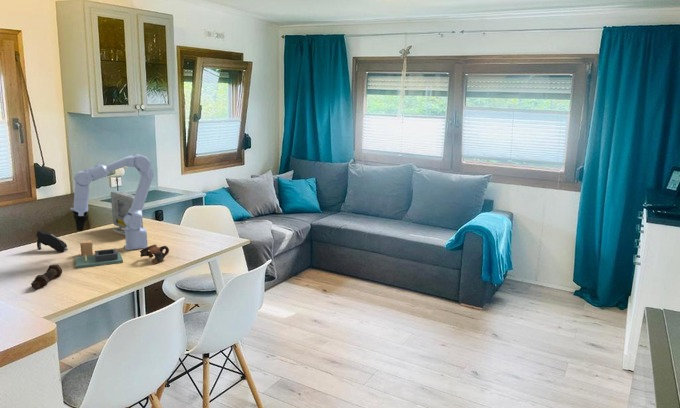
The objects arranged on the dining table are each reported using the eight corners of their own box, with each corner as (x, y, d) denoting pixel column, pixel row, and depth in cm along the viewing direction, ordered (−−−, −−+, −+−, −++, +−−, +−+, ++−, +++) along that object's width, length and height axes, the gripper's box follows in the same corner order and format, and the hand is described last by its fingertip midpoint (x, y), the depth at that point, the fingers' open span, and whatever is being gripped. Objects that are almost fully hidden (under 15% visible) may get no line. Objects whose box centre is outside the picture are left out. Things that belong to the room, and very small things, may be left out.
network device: (147, 234, 262) (145, 196, 258) (131, 237, 255) (128, 199, 251) (124, 225, 278) (121, 189, 274) (108, 228, 272) (105, 192, 268)
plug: (92, 252, 231) (91, 240, 230) (92, 255, 227) (91, 242, 226) (81, 254, 229) (80, 241, 228) (81, 256, 225) (80, 243, 224)
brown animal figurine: (146, 267, 214) (138, 249, 215) (144, 270, 223) (137, 253, 223) (173, 255, 220) (166, 238, 221) (171, 259, 229) (163, 242, 229)
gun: (59, 263, 232) (66, 246, 229) (30, 245, 233) (37, 228, 230) (64, 261, 235) (71, 244, 232) (35, 244, 236) (42, 226, 233)
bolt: (34, 295, 187) (54, 279, 201) (45, 288, 186) (65, 273, 201) (24, 282, 185) (45, 267, 200) (35, 276, 185) (56, 261, 200)
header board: (120, 254, 229) (119, 246, 229) (122, 262, 218) (122, 254, 217) (75, 259, 221) (74, 251, 220) (76, 268, 210) (75, 260, 209)
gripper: (70, 195, 227) (69, 225, 229) (71, 201, 215) (69, 232, 217) (88, 196, 231) (86, 225, 233) (89, 201, 218) (87, 232, 220)
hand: (79, 228), depth 225 cm, fingers open, 7 cm apart
